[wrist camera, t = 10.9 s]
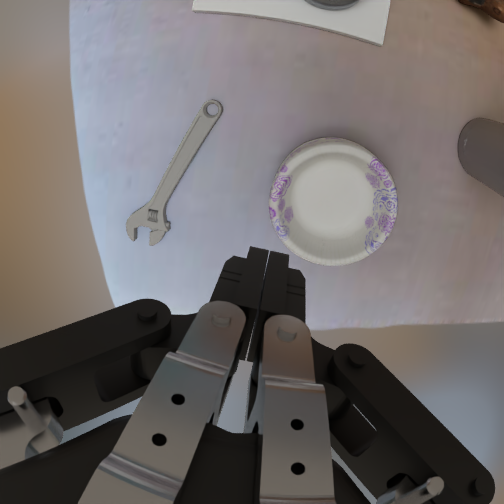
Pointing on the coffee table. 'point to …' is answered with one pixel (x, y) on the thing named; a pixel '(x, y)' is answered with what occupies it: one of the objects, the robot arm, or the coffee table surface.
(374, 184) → the paper bowls
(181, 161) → the adjustable wrench
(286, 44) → the coffee table surface
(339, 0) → the teal handled crank
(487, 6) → the decorative turtle
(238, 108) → the coffee table surface
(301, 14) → the white rectangular board
